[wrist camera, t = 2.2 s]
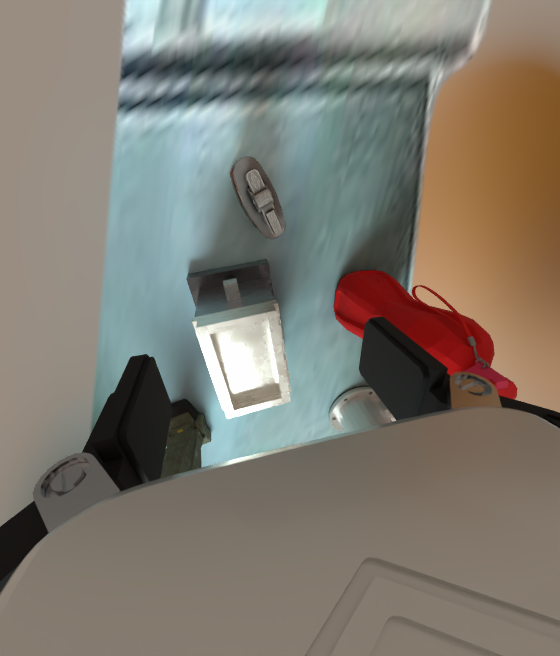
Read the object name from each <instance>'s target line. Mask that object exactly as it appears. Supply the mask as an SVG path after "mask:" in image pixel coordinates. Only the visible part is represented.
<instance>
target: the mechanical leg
mask: <svg viewBox="0 0 560 656" xmlns="http://www.w3.org/2000/svg"><path fill="white" fill-rule="evenodd" d="M171 405H172V415H171V420H170V426H169V432H168V438H167V443H166V447H167V448H166V449H165V455H164V461H163V466H162V472H161V478H164V477H168V476H172V475H175V474H179V473H183V472H187V471H191V470H194V469H198V468H201V446H202V445H203V444H205V443H208V442H211V433H210V431H209V430H208V428H207V426H206V423H205V421H204V419H205V417H204V416H203V414H199V413H198V411H197V410H196V409H195V408H194V407H193V406H192V405H191V404H190V402H189V401H188V400H187V399H183V400H181V401H178V402H175V403H172V404H171Z"/></svg>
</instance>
